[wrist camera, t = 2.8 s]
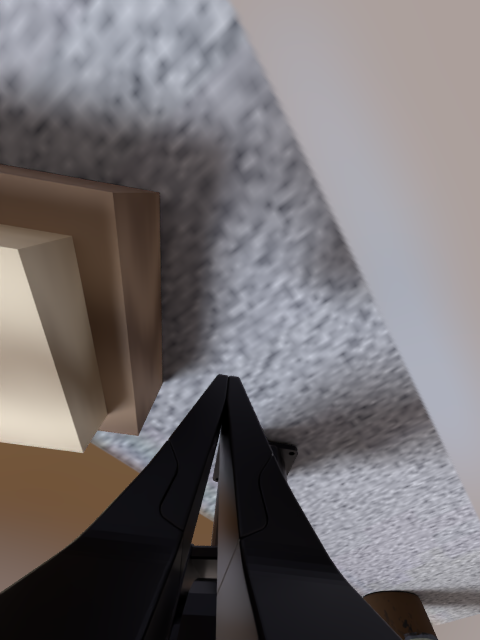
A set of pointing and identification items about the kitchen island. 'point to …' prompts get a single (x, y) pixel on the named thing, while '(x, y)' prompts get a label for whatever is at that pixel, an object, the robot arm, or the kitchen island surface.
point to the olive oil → (403, 614)
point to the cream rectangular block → (45, 345)
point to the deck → (105, 276)
